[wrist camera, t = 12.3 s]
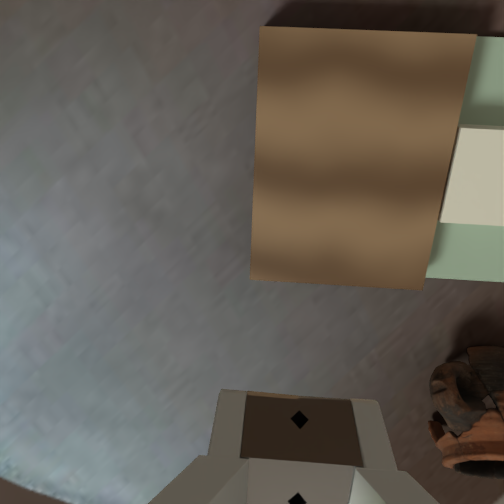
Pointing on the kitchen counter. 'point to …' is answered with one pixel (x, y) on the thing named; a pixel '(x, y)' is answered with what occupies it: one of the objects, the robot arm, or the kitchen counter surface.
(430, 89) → the board
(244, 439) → the robot arm
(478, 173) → the cream rectangular block
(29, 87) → the kitchen counter surface
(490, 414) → the pottery mug
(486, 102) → the mat
